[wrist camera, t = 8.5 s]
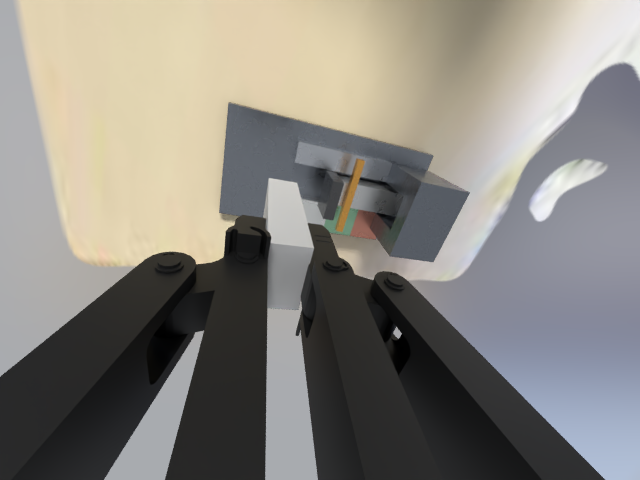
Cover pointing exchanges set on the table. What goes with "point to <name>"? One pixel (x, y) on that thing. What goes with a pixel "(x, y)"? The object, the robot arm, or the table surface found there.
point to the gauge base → (339, 157)
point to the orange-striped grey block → (355, 196)
